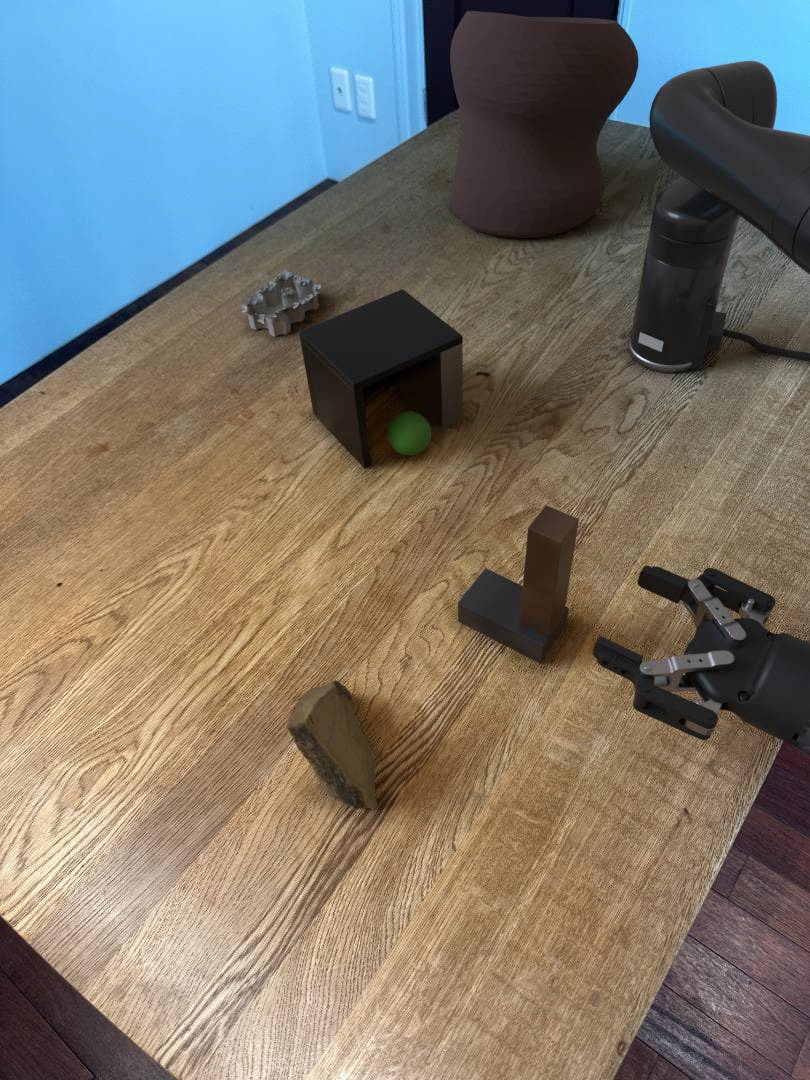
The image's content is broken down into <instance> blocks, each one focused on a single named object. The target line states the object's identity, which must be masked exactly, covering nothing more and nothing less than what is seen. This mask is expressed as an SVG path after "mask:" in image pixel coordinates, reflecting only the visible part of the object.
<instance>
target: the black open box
mask: <svg viewBox="0 0 810 1080" xmlns="http://www.w3.org/2000/svg"><path fill="white" fill-rule="evenodd" d="M298 335H299V340H300V341H299V342H300V347H301V353H302V358H303V363H304V369H305V374H306V380H307V386H308V390H309V397H310V402H311V407H312V412H313V413H312V414H313V415H314V416H315V417H316V418H317V420H318V421H319V423H321V424H322V425H323V427H325V428H326V429H327V431H328V432H330V434H331V435H332V436H333V437H334V438H335V439H336V440H337V441H338V442H339V444H341V446H343V448H344V449H345V450H346V451H347V452H348V453H349V454H350V455H351V456H352V457H353V459H354V460H356V462H358V464H359V465H360V466H361V467H362V468H363V469H367V468H368V467H370V466H372V458H371V451H370V443H369V433H368V425H367V417H366V409H365V400H364V398H366V397H368V396H370V395H372V394H374V393H376V392H379V391H381V390H383V389H385V388H387V387H389V386H392V385H393V386H394V387H395V388H396V389H397V390H398V391H400V392H401V394H403V395H404V396H405V397H406V398H407V399H408V400H409V401H411V403H413V404H414V405H415V407H417V408H418V409H419V410H420V411H421V412H422V413H423V414H425V415H426V416H427V417H428V418H429V419H430V420H431V421H432V422H433V423H434V424H436V425H437V426H438V427H439V428H440V429H441V430H442V431H444V430H446V429H448V428H451V426H454V425H456V424H458V423H461V422H462V421H463V420H464V401H463V400H464V360H463V358H464V357H463V356H464V354H463V353H464V351H463V349H464V347H463V346H464V345H463V343H464V342H463V337H464V336H463V335H462V334H461V333H460V332H458V331H457V330H456V329H454V328H453V327H452V326H451V325H450V324H448V323H447V322H446V321H444V319H442V318H440V317H439V316H438V315H437V314H435V313H434V312H433V311H432V310H431V309H429V308H428V307H427V306H425V305H424V304H423V303H422V302H420V301H419V300H418V299H416V298H415V297H413V296H412V295H411V294H410V293H409V292H407V291H406V290H405V289H403V288H401V289H399V290H396V291H394V292H392V293H389V294H387V295H385V296H384V295H383V296H382V297H379V298H376V299H374V300H372V301H370V302H367V303H365V304H362V305H360V306H358V307H355V308H353V309H351V310H348V311H345V312H343V313H341V314H338V315H336V316H333V317H331V318H328V319H326V320H323V321H321V322H318V323H315V324H314V325H311V326H309V327H306V328H304V329H301V330H298Z"/></svg>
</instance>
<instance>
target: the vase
mask: <svg viewBox="0 0 810 1080" xmlns="http://www.w3.org/2000/svg"><path fill="white" fill-rule="evenodd" d="M449 54H450V55H449V62H450V63H449V64H450V71H451V76H452V82H453V83H452V84H453V89H454V92H455V93H454V94H455V95H456V96H455V97H456V100H457V103H458V108H459V114H460V136H459V143H458V150H457V154H456V161H455V166H454V171H453V176H452V181H451V186H450V190H449V197H448V199H449V205H450V208H451V210H452V212H453V213H454V215H455V216H456V218H457V219H458V220H459V221H460V222H462V223H463V224H465V225H466V226H467V227H469V228H471V229H473V230H475V231H478V232H479V233H483V234H487V235H491V236H494V237H495V236H496V237H503V238H516V239H534V238H535V239H537V238H542V237H549V236H554V235H558V234H562V233H565V232H567V231H571V230H572V229H573V230H574V229H575V228H576V227H578V226H579V225H581V224H583V223H585V222H586V221H587V220H588V219H590V218H591V217H592V216H593V215H594V213H596V211H597V209H598V208H599V205H600V204H601V201H602V199H603V197H604V193H605V190H606V177H605V171H604V169H603V167H602V165H601V162H600V159H599V157H598V150H597V145H598V141H599V137H600V134H601V132H602V130H603V128H604V126H605V125H606V123H607V120H608V119H609V118H610V116H611V115H612V114H613V112H615V110H616V109H617V108H618V106H620V104H621V103H622V102H623V100H624V99H625V97H626V96H627V95H628V93H629V92H630V90H631V88H632V87H633V85H634V82H635V80H636V78H637V73H638V71H639V52H638V49H637V47H636V45H635V43H634V41H633V39H632V37H631V36H630V34H629V33H628V32H627V31H626V29H625V28H624V27H623V26H622V25H621V24H620V23H619V22H618V21H616V20H613V19H606V18H595V17H570V16H569V17H568V16H567V17H565V16H559V17H557V16H523V15H516V14H509V13H502V12H501V13H500V12H489V11H486V12H485V11H477V10H467V11H466V12H465V13H464V15H463V16H462V18H461V20H460V21H459V23H458V25H457V27H456V29H455V30H454V33H453V37H452V39H451V44H450V52H449Z"/></svg>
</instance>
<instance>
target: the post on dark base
mask: <svg viewBox="0 0 810 1080" xmlns="http://www.w3.org/2000/svg"><path fill="white" fill-rule="evenodd" d="M579 522H580V519H579V518H577V517H575V516H573V515H570V514H568V513H566V512H563V511H561V510H559V509H556V508H554V507H551V506H549V505H548V504H547V505H545V506H543V508H542V509H541V511H540V512H539V513H538V515H537V516H536V517H535V518H534V520H533V521H532V522H531V523H530V525H528V527H527V533H526V534H527V535H526V536H527V537H526V545H525V557H524V558H525V559H524V569H523V579H522V584H520V583H518V582H516V581H513V580H511V579H510V578H507V577H505V576H503V575H501V574H500V573H497V572H495V571H492V570H491V569H489V568H487V567H485V568H484V569H483V570H482V571H481V573H480V574H479V575H478V576H477V578H476V579H475V580H474V581H473V583H472V584H471V585H470V586H469V588H468V589H467V591H465V593H464V594H463V596H461V598H460V599H459V600H458V602H457V622H458V623H460V624H462V625H464V626H466V627H468V628H470V629H472V630H474V631H475V632H477V633H480V634H481V635H483V636H486V637H488V638H490V639H491V640H494V641H495V642H497V643H499V644H501V645H503V646H505V647H506V648H509V649H511V650H513V651H515V652H517V653H519V654H520V655H522V656H524V657H526V658H528V659H529V660H532V661H534V662H536V663H538V664H540V665H541V664H543V662H544V660H545V659H546V657H547V656H548V655H549V653H550V651H551V650H552V648H553V647H554V645H556V642H557V641H558V639H559V638H560V636H561V635H562V634H563V632H564V630H566V628H567V623H568V616H569V611H570V608H569V607H568V606H567V599H568V594H569V593H568V592H569V586H570V579H571V573H572V567H573V561H574V554H575V547H576V541H577V535H578V528H579V524H580V523H579Z"/></svg>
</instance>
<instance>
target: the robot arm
mask: <svg viewBox="0 0 810 1080" xmlns="http://www.w3.org/2000/svg"><path fill="white" fill-rule="evenodd" d="M777 109H778V90H777V85H776V80H775V78H774V75H773V73H772V71H771V70H770V69H769V68H768V67H767V65H765V64H764V63H762V62H760V61H756V60H742V61H736V62H730V63H725V64H718V65H713V66H707V67H702V68H701V67H700V68H695V69H691V70H687V71H685V72H682V73H679V74H677V75H675V76H673V77H672V78H670V79H669V80H667V81H666V82H665V83H664V84H663V85H662V86H661V87H660V88H659V89H658V91H657V93H656V94H655V95H654V98H653V100H652V103H651V105H650V111H649V117H648V119H649V132H650V136H651V139H652V143H653V146H654V148H655V150H656V152H657V153H658V156H659V157H660V158H661V160H662V161H663V163H664V164H665V165H666V166H667V167H668V168H669V169H670V170H672V171H673V172H675V174H677V175H679V176H681V177H680V178H678V179H677V180H675V181H674V182H671V184H669V185H668V186H666V187H664V189H663V190H661V191H660V193H658V196H657V197H656V199H655V203H654V205H653V211H652V216H651V221H650V227H649V232H648V238H647V244H646V249H645V254H644V260H643V266H642V271H641V277H640V283H639V288H638V293H637V300H636V305H635V310H634V316H633V321H632V327H631V331H630V336H629V339H628V344H627V351H628V353H629V356H630V357H631V358H632V359H633V361H635V362H636V363H637V364H638V365H641V366H642V367H644V368H646V369H649V370H652V371H656V372H660V373H680V372H681V373H682V372H685V371H689V370H695V371H700V370H701V367H702V364H703V361H704V356H705V352H706V351H711V352H717V353H718V352H719V351H720V349H721V344H722V340H723V337H725V338H729V339H733V340H738V341H740V342H743V343H747V344H748V345H750V346H751V347H752V348H753V349H754V350H757V351H759V352H760V351H761V352H762V353H763V352H764V353H767V354H771V355H775V356H776V355H777V356H781V357H786V358H791V359H798V360H805V361H810V352H806V351H799V350H792V349H786V348H781V347H775V346H772V345H769V344H765V343H762V342H759V341H758V340H757V338H756V337H753V336H751V335H749V334H746V333H743V332H739V331H735V330H731V329H726V328H725V324H726V320H727V315H728V314H727V312H723V311H722V312H721V311H717V307H718V303H719V298H720V293H721V288H722V284H723V280H724V278H725V277H724V276H725V273H726V269H727V265H728V262H729V258H730V255H731V250H732V247H733V243H734V238H735V235H736V233H737V232H736V231H737V228H738V225H739V221H740V218H743V219H744V220H745V221H746V222H747V223H749V224H750V226H752V227H754V228H755V229H756V230H757V231H759V232H760V233H761V234H762V235H763V236H765V238H767V239H768V240H769V241H770V242H771V243H772V244H773V245H774V246H775V247H776V248H777V249H778V250H779V251H780V252H781V253H783V254H784V255H785V256H786V257H787V258H788V259H789V260H791V262H793V263H794V264H795V265H797V266H798V267H799V268H800V269H801V270H803V271H804V272H805V273H806V274H807V275H809V276H810V135H808V134H803V133H798V132H794V131H793V132H792V131H785V130H781V129H775V125H776V124H775V123H776V118H777ZM637 585H638V586H639V587H640V588H642V589H643V590H645V591H648V592H650V593H652V594H655V595H657V596H659V597H661V598H664V599H665V600H668V601H670V602H672V603H675V604H678V605H679V604H680V601H681V603H682V605H683V606H684V608H685V609H686V610H687V613H689V615H690V616H691V618H692V620H693V625H694V627H695V628H696V629H695V632H694V635H693V637H692V639H691V640H690V641H689V642H688V643H687V645H686V647H685V649H684V652H683V654H675V655H672V656H671V657H669V658H666V659H655V660H644V661H643V658H644V655H642V654H640V653H637V652H635V651H633V650H632V649H629V648H627V647H626V646H624V645H621V644H620V643H617V642H615V641H612V640H611V639H608V638H607V637H604V636H598V637H597V640H596V641H595V643H594V645H593V650H592V656H593V657H594V658H595V659H596V663H597V664H598V665H599V666H601V667H602V668H604V669H606V670H608V671H610V672H612V673H613V674H616V675H618V676H620V677H622V678H624V679H626V680H628V681H630V682H631V683H632V685H633V686H634V695H633V701H632V707H633V709H634V710H635V711H637V712H638V713H641V714H643V715H646V716H648V717H649V718H651V719H654V720H657V721H658V722H661V723H663V724H665V725H668V726H670V727H672V728H673V729H676V730H679V731H680V732H682V733H685V734H687V735H690V736H692V737H694V738H696V739H698V740H701V741H707V740H709V739H710V738H711V736H712V734H713V733H714V731H715V729H716V727H717V724H718V721H719V714H720V711H726V712H731V713H733V714H735V715H736V716H737V717H738V718H739V719H740V721H742V722H743V723H745V724H747V725H749V726H751V727H753V728H756V729H757V730H759V731H762V732H764V733H766V734H768V735H770V736H771V737H773V738H776V739H778V740H780V741H781V742H784V743H786V744H788V745H790V746H792V747H794V748H797V749H798V750H800V751H802V752H805V753H806V754H808V755H810V642H808V641H806V640H804V639H802V638H799V637H796V636H795V635H792V634H790V633H787V632H781V633H775V632H772V631H770V630H769V629H767V628H765V627H764V625H763V624H766V623H767V622H768V619H769V617H770V615H771V613H772V611H773V609H774V607H775V605H776V602H777V601H776V598H775V597H774V596H773V595H771V594H769V593H767V592H765V591H762V590H760V589H759V588H756V587H754V586H752V585H750V584H748V583H745V582H743V581H742V580H739V579H737V578H735V577H733V576H731V575H729V574H727V573H724V572H723V571H720V570H718V569H716V568H714V567H706V568H705V569H704V570H703V573H701V574H700V575H699V576H697V577H696V578H691V579H688V578H686V577H683V576H681V575H678V574H676V573H674V572H671V571H670V570H668V569H665V568H663V567H660V566H655V565H652V566H651V565H650V566H649V565H644V566H643V567H642V568H641V571H640V572H639V575H638V579H637ZM727 609H728V610H727ZM729 610H730V611H731V612H734V613H735V614H738V615H739V616H740V618H734V617H733V616H732V615H731V614H730V612H729ZM682 692H697V694H698V695H699V697H700V698H701V699H698V700H692V701H691V700H689V699H687V698H685V697H683V696H680V695H678V694H675V693H682Z"/></svg>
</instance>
